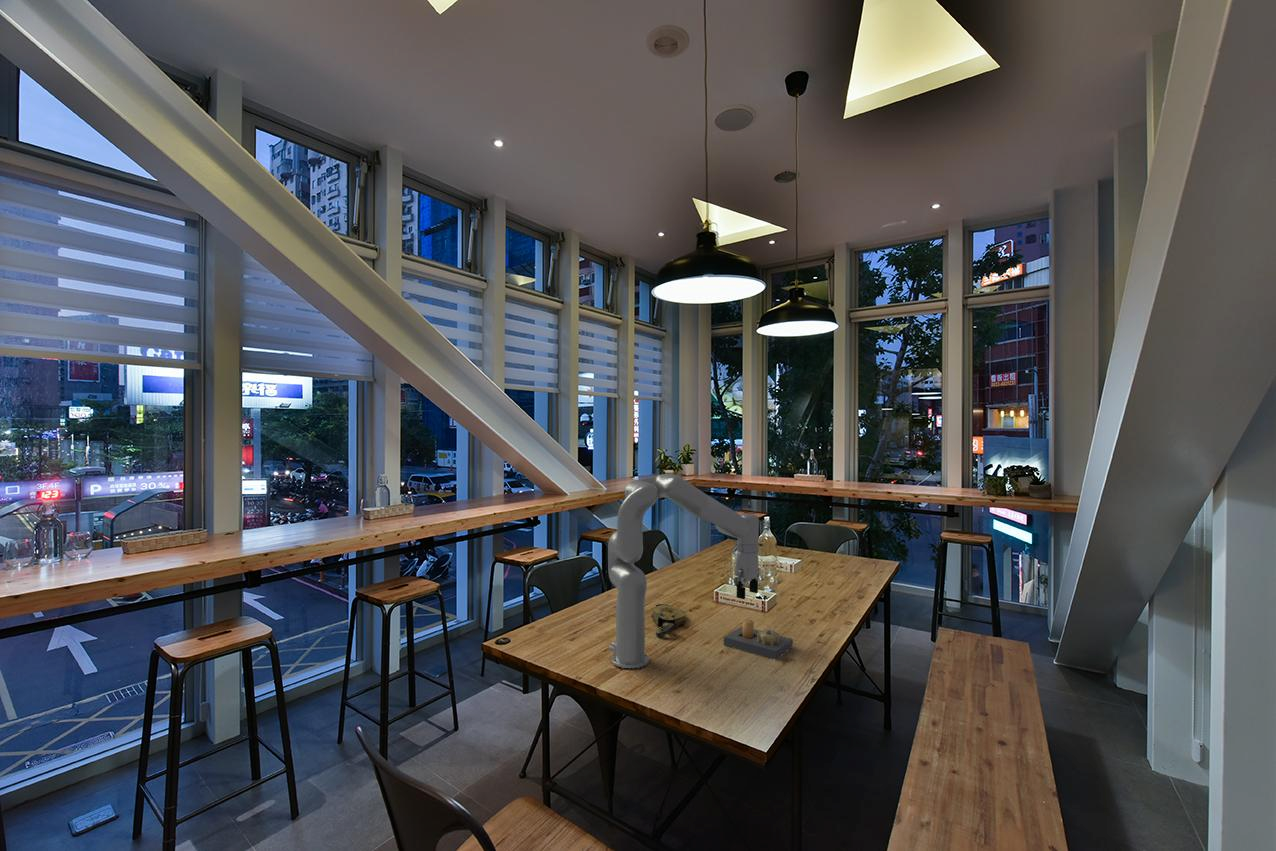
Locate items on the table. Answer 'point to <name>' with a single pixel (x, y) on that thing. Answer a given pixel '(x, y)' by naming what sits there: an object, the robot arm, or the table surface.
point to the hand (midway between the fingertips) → (747, 595)
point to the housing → (760, 643)
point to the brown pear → (748, 629)
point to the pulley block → (667, 618)
